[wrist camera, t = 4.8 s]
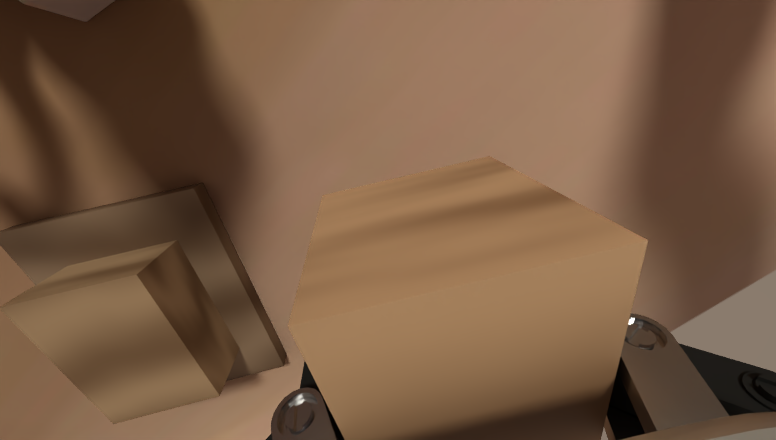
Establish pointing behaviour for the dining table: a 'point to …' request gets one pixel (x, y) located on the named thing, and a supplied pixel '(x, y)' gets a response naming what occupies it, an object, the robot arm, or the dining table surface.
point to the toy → (71, 7)
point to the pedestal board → (147, 230)
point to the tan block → (465, 307)
